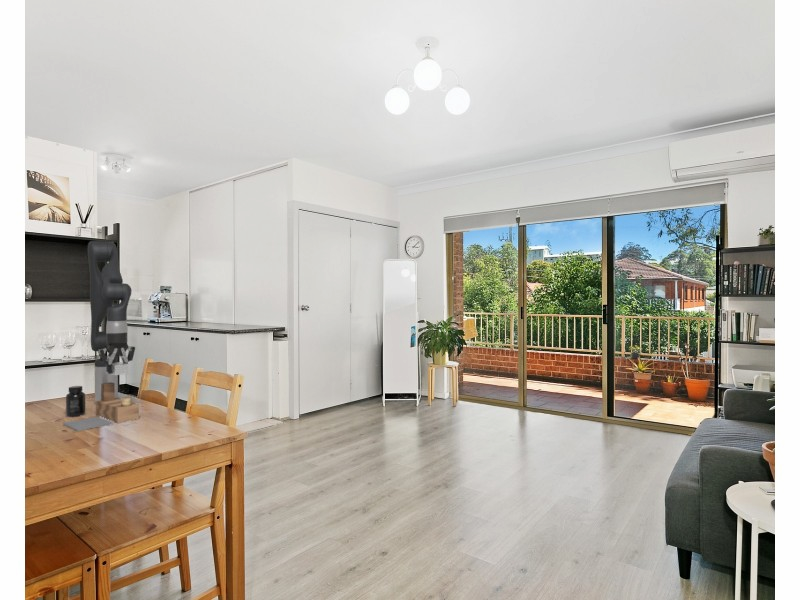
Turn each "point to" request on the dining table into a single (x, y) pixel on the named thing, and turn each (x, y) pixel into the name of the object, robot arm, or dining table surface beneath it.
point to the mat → (87, 423)
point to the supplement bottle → (75, 402)
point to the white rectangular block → (119, 368)
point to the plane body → (115, 405)
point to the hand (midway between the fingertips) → (117, 372)
